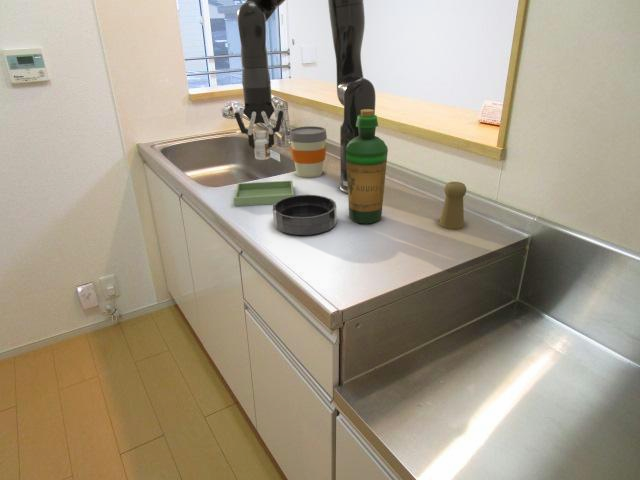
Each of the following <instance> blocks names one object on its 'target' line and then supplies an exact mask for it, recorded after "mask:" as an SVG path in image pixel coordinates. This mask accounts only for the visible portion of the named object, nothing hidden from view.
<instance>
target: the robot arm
mask: <svg viewBox="0 0 640 480" xmlns="http://www.w3.org/2000/svg"><path fill="white" fill-rule="evenodd" d="M285 1H286V0H245V2H244V3H242V4H241V5H240V6H239V8H238V10H237V12H236V13H237V14H236V21H237V27H238V35H239V40H240V61H241V85H242V92H243V101H244V102H243V103H244V106H243V109H242V110H236V111H235V112H234V117H235V120H236V122H237V125H238V128H239V130H240V133H241V134H245V135H246V136H248V138H247V139H248V145H249V147H251V149H254V140H255V134H254V132H253V131H254V127H255V124H256V125H257V124H265V126H266V128H267V131H268V139H269V147H270V148H273V146H274V145H275V134H276V133H278V132H280V129H281V125H282V120H283V116H284V110H283V109H282V108H280V109H278V108H275V107H274V105H273V97H272V87H271V86H272V85H271V84H272V81H271V74H270V68H269V55H268V48H267V21H268V20H269V19H270V17H271V16H272V15H273V14H274V13H275V11H276V9H278V8H279V7H280V6H281V5H283V4H284V3H285ZM327 4H328V5H327V6H328V12H329V22H330V28H331V34H332V42H333V50H334V55H335V65H336V69H335V70H336V97H337V99H338V101H339V103H340V104H341V105H342V106H343V121H342V123H341V124H340V128H339V132H340V133H339V136H340V137H339V138H340V140H339V143H340V144H339V145H340V146H339V147H340V148H339V150H340V153H339V154H340V155H339V156H340V158H339V159H340V189H339V190H340V191H341V192H343V193H344V194H348V184H347V167H346V146H347V145H348V143H349V142H350V141H351V140H352V139H354V138H355V137H357V136H359V131H358V127H357V126H356V122H357V117H358V115H361V110H364V109H372V110H374V114H373V115H376V99H377V98H376V96H377V95H376V90H375V86H374V84H373V83H372V82H371V80H369V79H367V78H365V77H364V73H363V67H362V46H363V40H364V36H365V35H364V34H365V27H366V17H365V15H366V14H365V5H364V0H327ZM273 114H274V116H275V117H276V121H275V122H276V123H275V126H274V127H273V125H272V122H271V120H270V119H271V117H272V115H273ZM244 115H245V116H246V117H247V119H248V120H249V125H248V128H247V127H246V126H245V123H244V120H243V119H244Z"/></svg>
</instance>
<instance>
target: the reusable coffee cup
mask: <svg viewBox="0 0 640 480" xmlns="http://www.w3.org/2000/svg"><path fill="white" fill-rule="evenodd" d="M327 138H328V137H327V130H326V128H325V127H322V126H315V125H314V126H313V125H312V126H309V125H307V126H298V127H294V128H291V129H289V139H288V140H289V141H290V146H291V147H290V151H291V157H292V162H293V163H294V166H295V167H294V168H295V172H296V175H297V177H300V178H309V179H311V178H317V177H321V176H322V174H323V170H324V161H325V160H326V152H327V146H326V140H327Z"/></svg>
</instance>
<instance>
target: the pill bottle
mask: <svg viewBox="0 0 640 480" xmlns="http://www.w3.org/2000/svg"><path fill="white" fill-rule="evenodd" d="M267 131H268V130H264V129H263V130H262V129H261V130H260V129H259V130H256V131H254V148H253V149H254V158H255V159H256V160H258V161H265V160H270V158H271V147H269V137H268V132H267Z"/></svg>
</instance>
